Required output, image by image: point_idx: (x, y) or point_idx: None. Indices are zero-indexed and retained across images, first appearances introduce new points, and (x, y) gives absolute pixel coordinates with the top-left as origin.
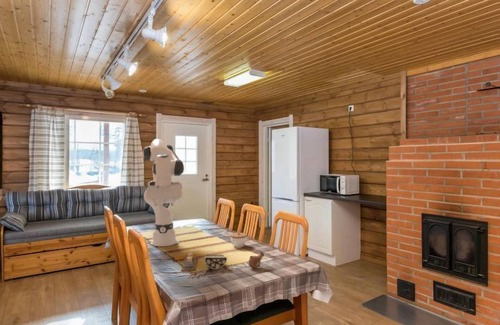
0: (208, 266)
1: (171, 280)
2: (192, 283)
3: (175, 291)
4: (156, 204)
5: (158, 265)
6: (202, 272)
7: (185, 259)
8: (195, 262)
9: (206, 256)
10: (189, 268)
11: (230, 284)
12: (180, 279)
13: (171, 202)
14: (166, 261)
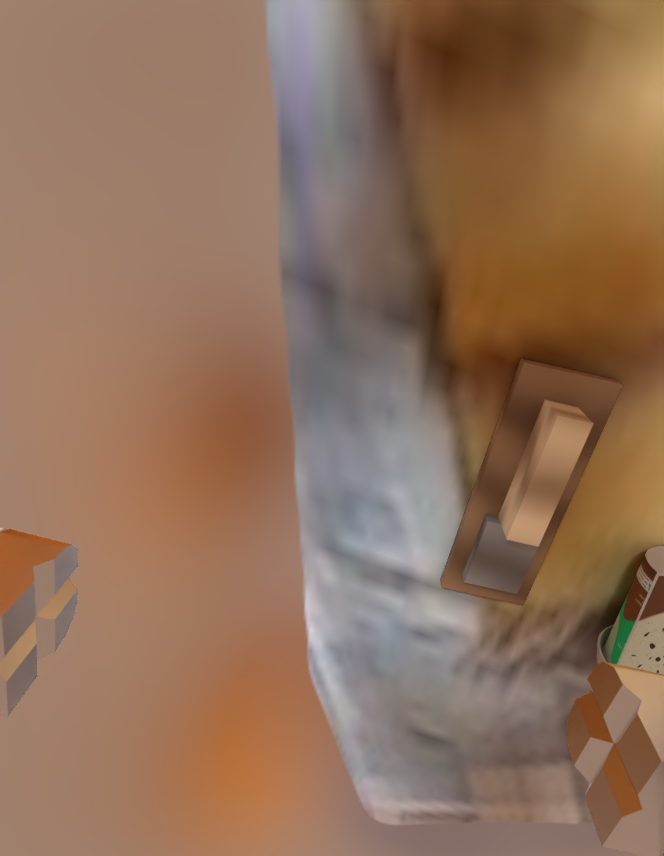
0: (603, 645)
1: (368, 664)
2: (459, 724)
3: (371, 759)
4: (24, 669)
5: (310, 430)
6: (551, 633)
7: (514, 422)
8: (563, 509)
9: (639, 625)
10: (492, 591)
11: None
12: (413, 669)
13: (660, 781)
14: (372, 367)
